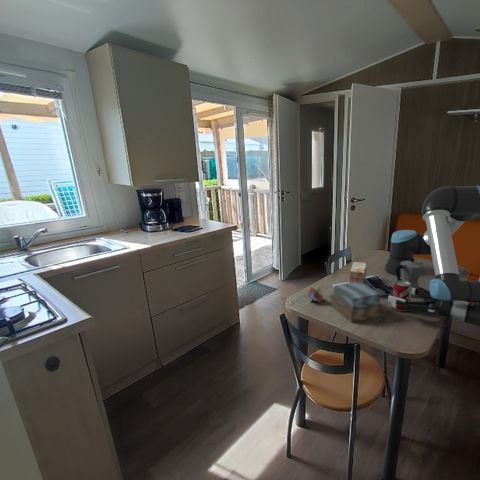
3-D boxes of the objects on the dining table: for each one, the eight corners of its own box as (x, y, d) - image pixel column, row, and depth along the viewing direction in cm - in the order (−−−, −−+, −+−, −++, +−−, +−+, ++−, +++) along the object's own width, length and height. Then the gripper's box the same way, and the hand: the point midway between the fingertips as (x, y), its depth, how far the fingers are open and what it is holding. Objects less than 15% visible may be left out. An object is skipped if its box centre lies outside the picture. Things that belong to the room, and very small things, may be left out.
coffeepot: (410, 287, 144) (415, 253, 139) (427, 295, 136) (432, 259, 131) (385, 292, 140) (389, 257, 135) (401, 301, 132) (405, 264, 127)
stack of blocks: (353, 277, 159) (354, 256, 156) (365, 278, 156) (367, 257, 153) (348, 294, 141) (350, 270, 137) (362, 296, 138) (364, 272, 135)
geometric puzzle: (329, 298, 133) (320, 282, 134) (321, 303, 128) (312, 287, 130) (318, 302, 138) (309, 287, 139) (310, 308, 133) (301, 292, 135)
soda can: (392, 311, 124) (395, 285, 120) (390, 303, 130) (393, 279, 126) (410, 313, 121) (413, 287, 118) (407, 305, 127) (410, 280, 124)
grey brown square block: (358, 299, 134) (360, 280, 132) (382, 315, 120) (384, 294, 118) (330, 305, 131) (331, 285, 128) (351, 322, 117) (352, 300, 114)
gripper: (444, 331, 104) (382, 311, 119) (457, 305, 121) (401, 290, 135) (447, 313, 102) (384, 295, 116) (460, 288, 119) (403, 275, 133)
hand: (393, 292), depth 126 cm, fingers open, 13 cm apart
